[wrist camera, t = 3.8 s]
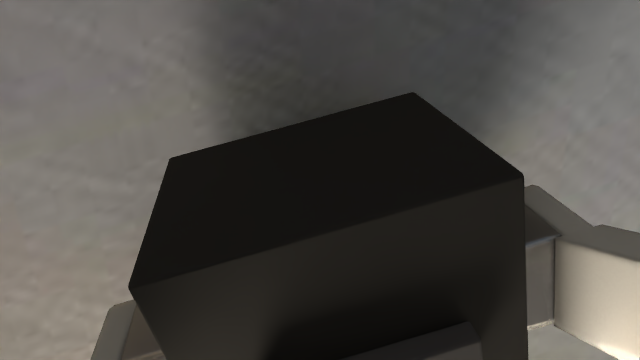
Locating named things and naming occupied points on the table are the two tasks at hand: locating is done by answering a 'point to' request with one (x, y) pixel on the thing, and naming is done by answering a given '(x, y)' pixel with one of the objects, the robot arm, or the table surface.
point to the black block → (339, 244)
